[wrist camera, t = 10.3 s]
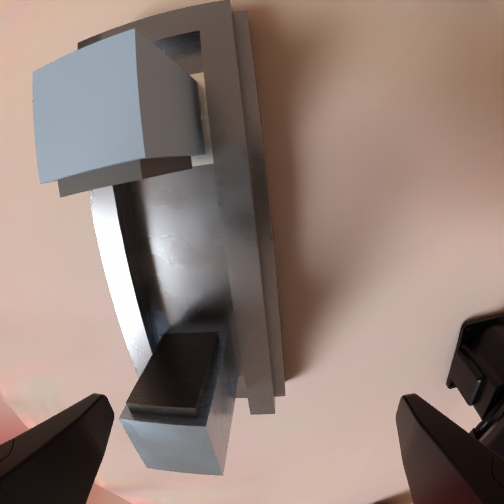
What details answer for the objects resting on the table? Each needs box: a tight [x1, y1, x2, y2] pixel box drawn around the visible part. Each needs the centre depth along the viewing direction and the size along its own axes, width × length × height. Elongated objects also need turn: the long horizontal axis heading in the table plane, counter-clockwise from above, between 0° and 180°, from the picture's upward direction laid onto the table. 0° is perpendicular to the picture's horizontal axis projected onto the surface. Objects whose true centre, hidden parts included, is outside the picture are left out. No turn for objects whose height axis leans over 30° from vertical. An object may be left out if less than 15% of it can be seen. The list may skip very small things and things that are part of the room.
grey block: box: [33, 28, 206, 197], centre depth 11 cm, size 4×5×8 cm
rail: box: [78, 0, 285, 475], centre depth 14 cm, size 10×24×10 cm, turn 6°
